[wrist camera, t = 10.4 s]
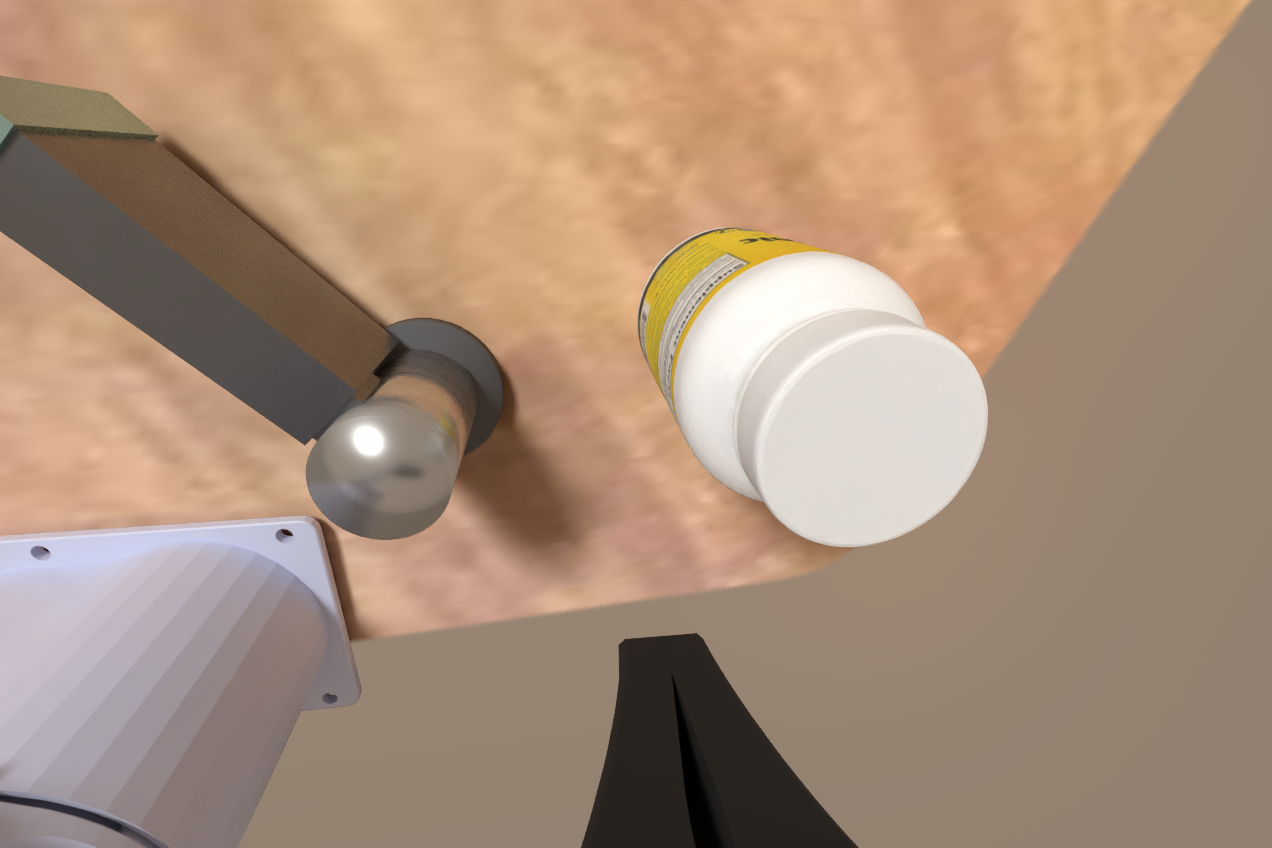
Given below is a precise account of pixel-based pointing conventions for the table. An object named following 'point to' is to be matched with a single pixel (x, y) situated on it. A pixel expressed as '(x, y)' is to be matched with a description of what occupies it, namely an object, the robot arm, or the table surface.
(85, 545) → the robot arm
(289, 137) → the table surface
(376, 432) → the swing bar
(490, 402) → the pivot base
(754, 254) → the supplement bottle
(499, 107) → the table surface
